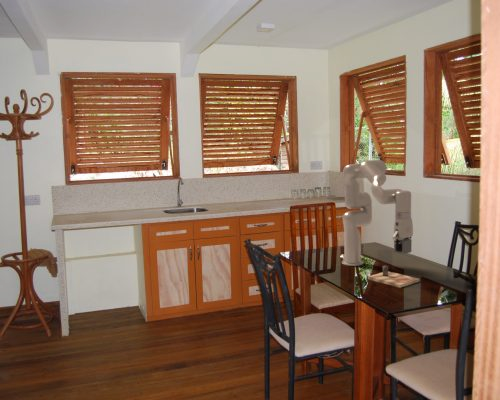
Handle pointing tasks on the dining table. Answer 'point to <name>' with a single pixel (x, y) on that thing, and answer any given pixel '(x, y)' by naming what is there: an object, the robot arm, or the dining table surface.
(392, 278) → the board
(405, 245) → the gray cube
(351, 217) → the robot arm
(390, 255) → the dining table surface
